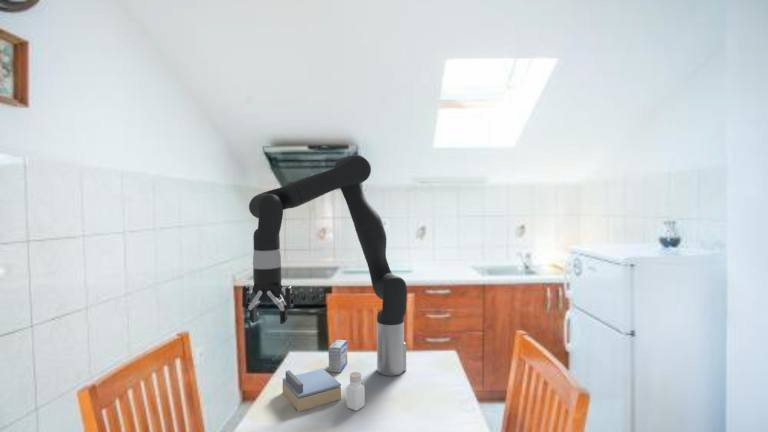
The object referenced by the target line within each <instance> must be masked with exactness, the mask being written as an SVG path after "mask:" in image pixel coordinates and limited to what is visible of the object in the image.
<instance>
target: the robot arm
mask: <svg viewBox="0 0 768 432" xmlns="http://www.w3.org/2000/svg"><path fill="white" fill-rule="evenodd" d="M371 172H372V166H371V163H370V161H369V159H367V157H365V156H364V155H360V154H351V155H348V156H344V157H341V158H338V160H337V161H336V162H335V165H334V167H333V168H330V169H328V170H326V171H322V172H319V173H315V174H312V175H309V176H306V177H302V178H299V179H297V180H295V181H292V182H289V183H287V184H285V185H283V186H281V187H278V188H275V189H274V188H273V189H270V190H267V191H264V192H261V193H258V194H256V195H255V196H253V197H252V198H251V200H250V202H249V204H248V209H249V212H250V214H251V215H252V216H253V217H254V218H257V219H258V220H257V221H258V223H257V229H255V230H254V232H253V255H252V271H253V272H252V273H253V274H252V276H253V285H251V284H247V285H245V286H243V287H242V300H241V301H242V303H241V306H242V308H246V309H248V310H249V312H248V313H249V321H251V324H255V323H257V322H258V308H257V306H258V305H259V304H260V302H261V303H265V302H268V303H274V304H275V305H276V307H278V308H279V310H280V311H279V321H280V322H279V323H280V325H284V324H286V322H287V321H288V310H290V309H292V308H293V307H294V306H295V302H294V289H293V286H292V285H288V286H283V285H282V256H281V255H282V254H281V250H280V249H281V247H280V244H281V241H280V231H281V228H282V224H283V223H282V221H283V217H284V210H287V209H293V208H297V207H300V206H302V205H304V204H306V203H309V202H311V201H313V200H315V199H318V198H319V197H322V196H324V195H326V194H328V193H331V192H332V191H335V190H338V189H340V191H341V194H342V196H343V197H344V200H345V202H346V205H347V208H348V212H349V214H350V218H351V220H352V222H353V226H354V228H355V232H356V236H357V238H358V242H359V245H360V247H361V250H362V253H363V255H364V259H365V261H366V264H367V267H368V272H369V276H370V281H371V285H372V286H371V287H372V290H373V293H374V294H375V295H376V297H378V298H379V299H381V300H382V309H381V310H380V311H378V312H377V315H376V371H377V372H378V374H380V375H384V376H389V377H393V376H398V375H401V374H403V373H404V372H405V371H407V343H406V342H405V328H404V327H405V315H406V312H407V303H408V302H407V301H408V300H407V299H408V287H407V283H406V281H405V280H404V279H403V278H402V277H400V276H398V275H395V274H393V273H392V270H391V269H390V265H389V263H388V260H387V254H386V253H387V235H386V230H385V227H384V224H383V220H382V218H381V216H380V214H379V213H378V211H377V210H376V209H375V208H374V207H373V204H371V203H370V201H369V200H368V199H367V197H366V195H365V192H364V191H363V187H362V185H361V183H364V182H365V181H367V180H368V179H369V177H370V176H371ZM252 292H253V293H254V295H255V296H254V297H253V300H251V298H252V297H251V296H252V295H251V294H252ZM282 293H283V294H284V296H285V299H284V297H283V296H282Z"/></svg>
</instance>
